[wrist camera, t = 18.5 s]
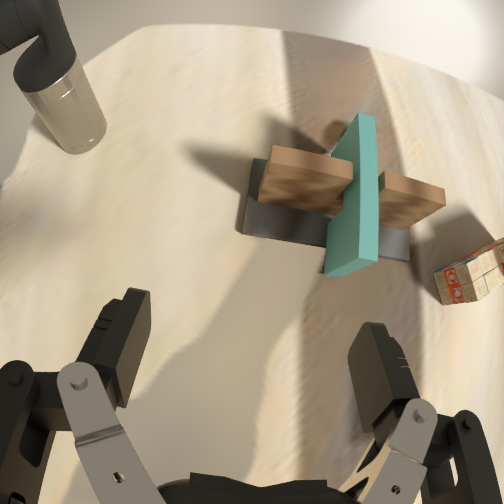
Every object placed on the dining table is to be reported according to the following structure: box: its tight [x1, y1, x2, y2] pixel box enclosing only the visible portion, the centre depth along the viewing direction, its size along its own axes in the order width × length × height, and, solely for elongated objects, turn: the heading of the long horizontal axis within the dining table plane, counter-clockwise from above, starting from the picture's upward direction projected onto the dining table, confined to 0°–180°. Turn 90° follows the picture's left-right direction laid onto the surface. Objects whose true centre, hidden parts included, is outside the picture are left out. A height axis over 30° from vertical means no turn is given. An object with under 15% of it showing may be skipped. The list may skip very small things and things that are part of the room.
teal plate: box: [324, 112, 379, 278], centre depth 42 cm, size 20×2×12 cm, turn 172°
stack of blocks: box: [433, 238, 504, 305], centre depth 44 cm, size 21×6×12 cm, turn 108°
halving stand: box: [242, 145, 446, 262], centre depth 42 cm, size 27×12×13 cm, turn 82°
